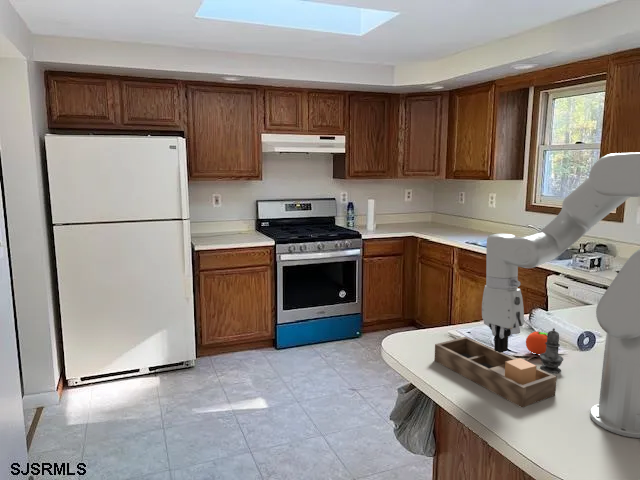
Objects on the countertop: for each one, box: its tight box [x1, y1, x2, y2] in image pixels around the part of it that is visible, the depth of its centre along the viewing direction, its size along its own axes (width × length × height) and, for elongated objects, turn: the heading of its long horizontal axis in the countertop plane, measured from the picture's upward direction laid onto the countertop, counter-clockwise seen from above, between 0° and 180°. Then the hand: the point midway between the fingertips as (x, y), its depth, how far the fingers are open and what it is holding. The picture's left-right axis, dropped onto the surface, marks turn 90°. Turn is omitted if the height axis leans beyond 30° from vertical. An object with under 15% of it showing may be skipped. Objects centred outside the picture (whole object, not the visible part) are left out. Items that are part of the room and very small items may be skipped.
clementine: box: [525, 331, 548, 354], centre depth 140 cm, size 8×7×7 cm
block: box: [505, 357, 537, 385], centre depth 118 cm, size 5×5×5 cm
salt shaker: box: [539, 327, 564, 375], centre depth 130 cm, size 6×6×12 cm
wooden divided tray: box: [434, 336, 558, 408], centre depth 127 cm, size 30×12×5 cm, turn 28°
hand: (501, 350), depth 124 cm, fingers closed
